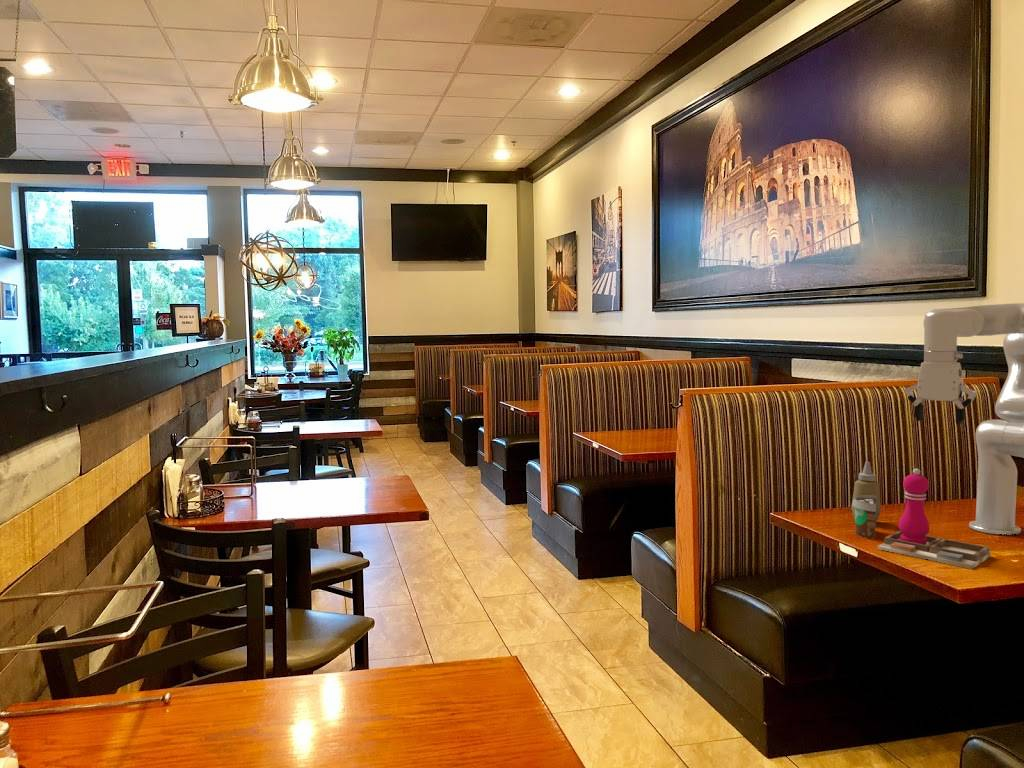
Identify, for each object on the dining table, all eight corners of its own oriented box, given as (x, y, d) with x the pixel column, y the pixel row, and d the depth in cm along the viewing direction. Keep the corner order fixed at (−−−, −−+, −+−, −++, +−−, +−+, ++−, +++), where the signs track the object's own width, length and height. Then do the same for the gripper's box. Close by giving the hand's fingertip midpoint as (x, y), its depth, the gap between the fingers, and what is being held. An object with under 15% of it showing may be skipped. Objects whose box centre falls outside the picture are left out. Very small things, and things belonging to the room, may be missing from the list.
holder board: (899, 538, 211) (899, 529, 211) (990, 556, 195) (991, 546, 195) (877, 549, 201) (877, 540, 201) (971, 569, 185) (972, 558, 185)
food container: (852, 527, 223) (853, 493, 223) (875, 530, 221) (876, 495, 220) (850, 537, 212) (851, 502, 212) (874, 540, 210) (876, 504, 209)
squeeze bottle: (886, 522, 229) (888, 462, 227) (870, 526, 224) (873, 465, 223) (860, 517, 235) (862, 458, 234) (845, 520, 231) (847, 461, 229)
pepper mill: (932, 548, 199) (936, 471, 197) (902, 546, 201) (905, 470, 199) (923, 540, 206) (927, 466, 204) (894, 538, 208) (897, 465, 206)
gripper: (981, 357, 199) (980, 422, 201) (910, 356, 212) (909, 417, 214) (972, 359, 194) (971, 426, 196) (900, 357, 207) (899, 421, 209)
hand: (939, 421), depth 205 cm, fingers open, 9 cm apart
